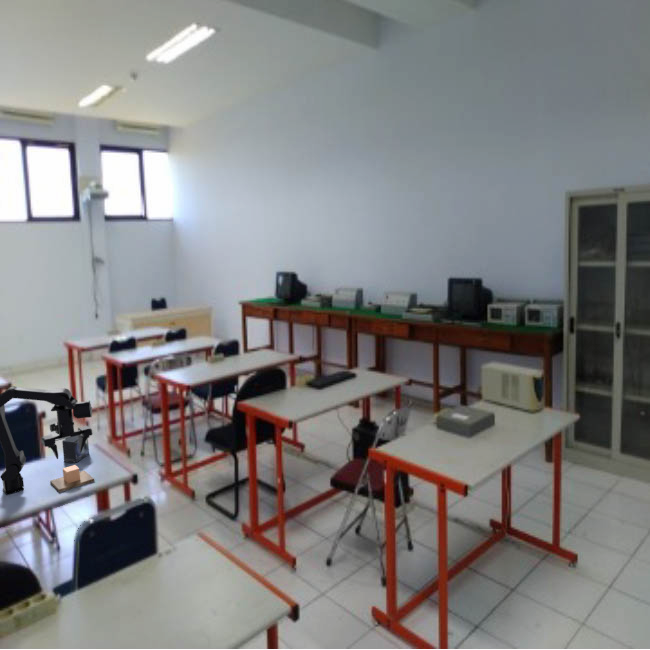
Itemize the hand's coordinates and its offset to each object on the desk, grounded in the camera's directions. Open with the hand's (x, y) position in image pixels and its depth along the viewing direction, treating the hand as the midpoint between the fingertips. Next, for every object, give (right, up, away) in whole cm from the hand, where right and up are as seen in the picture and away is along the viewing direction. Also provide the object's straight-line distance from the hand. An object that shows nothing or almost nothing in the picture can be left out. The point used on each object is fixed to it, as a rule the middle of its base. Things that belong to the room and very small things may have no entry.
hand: (69, 455), depth 232 cm
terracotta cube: (0, -11, +2) cm, 11 cm away
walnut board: (0, -12, +2) cm, 12 cm away
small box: (-8, -8, +26) cm, 29 cm away
